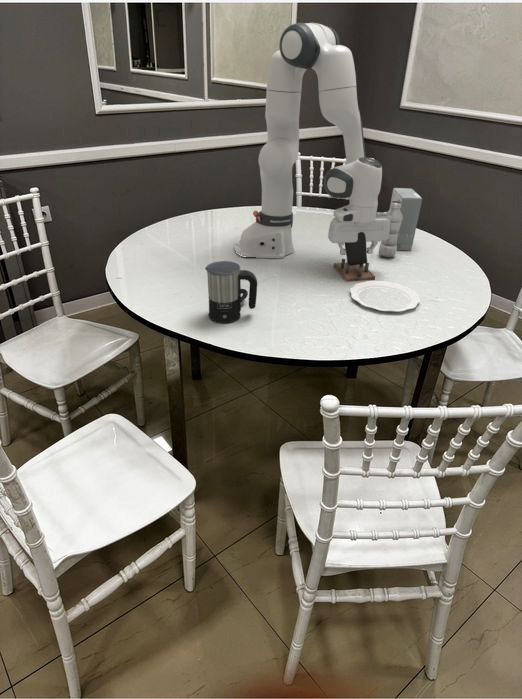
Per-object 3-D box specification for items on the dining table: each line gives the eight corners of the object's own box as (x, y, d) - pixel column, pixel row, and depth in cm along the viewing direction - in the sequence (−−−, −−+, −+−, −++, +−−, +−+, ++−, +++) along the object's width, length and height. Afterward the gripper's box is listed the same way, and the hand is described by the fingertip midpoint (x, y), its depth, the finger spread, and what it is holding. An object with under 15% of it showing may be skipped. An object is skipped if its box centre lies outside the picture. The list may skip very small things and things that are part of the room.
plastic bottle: (397, 254, 177) (407, 201, 166) (393, 260, 172) (404, 205, 161) (380, 251, 179) (389, 198, 168) (375, 257, 174) (385, 203, 163)
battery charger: (366, 259, 160) (364, 227, 154) (368, 263, 157) (365, 230, 151) (346, 262, 162) (342, 230, 156) (347, 267, 158) (343, 234, 152)
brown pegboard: (346, 281, 155) (348, 269, 153) (333, 266, 166) (334, 254, 164) (374, 279, 157) (376, 268, 155) (360, 264, 168) (362, 253, 165)
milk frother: (213, 326, 128) (211, 276, 120) (197, 301, 140) (195, 254, 132) (261, 317, 133) (263, 269, 125) (242, 294, 145) (242, 248, 137)
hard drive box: (411, 251, 180) (423, 198, 170) (391, 250, 181) (401, 198, 170) (402, 237, 194) (412, 187, 183) (383, 236, 194) (392, 187, 183)
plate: (406, 322, 134) (407, 317, 133) (338, 303, 143) (339, 298, 142) (426, 296, 149) (427, 291, 148) (364, 279, 158) (365, 275, 157)
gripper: (388, 209, 155) (381, 249, 162) (329, 210, 151) (324, 251, 158) (396, 214, 149) (388, 256, 157) (335, 216, 146) (330, 258, 153)
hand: (356, 253), depth 158 cm, fingers open, 8 cm apart
